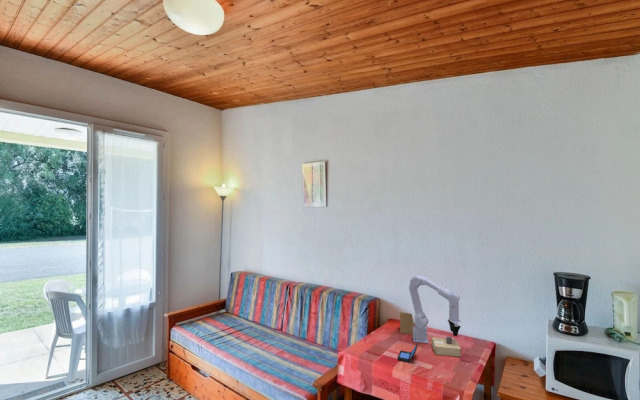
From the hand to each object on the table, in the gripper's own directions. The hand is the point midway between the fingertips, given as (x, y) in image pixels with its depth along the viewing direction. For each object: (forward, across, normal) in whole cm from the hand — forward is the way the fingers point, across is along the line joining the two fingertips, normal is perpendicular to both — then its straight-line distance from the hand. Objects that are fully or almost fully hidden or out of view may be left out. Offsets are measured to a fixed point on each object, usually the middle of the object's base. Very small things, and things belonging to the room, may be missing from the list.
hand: (453, 333), depth 205 cm
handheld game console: (+10, -18, +30) cm, 37 cm away
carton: (+10, -4, +6) cm, 12 cm away
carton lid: (+5, -4, +6) cm, 9 cm away
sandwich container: (+10, +27, +26) cm, 39 cm away
